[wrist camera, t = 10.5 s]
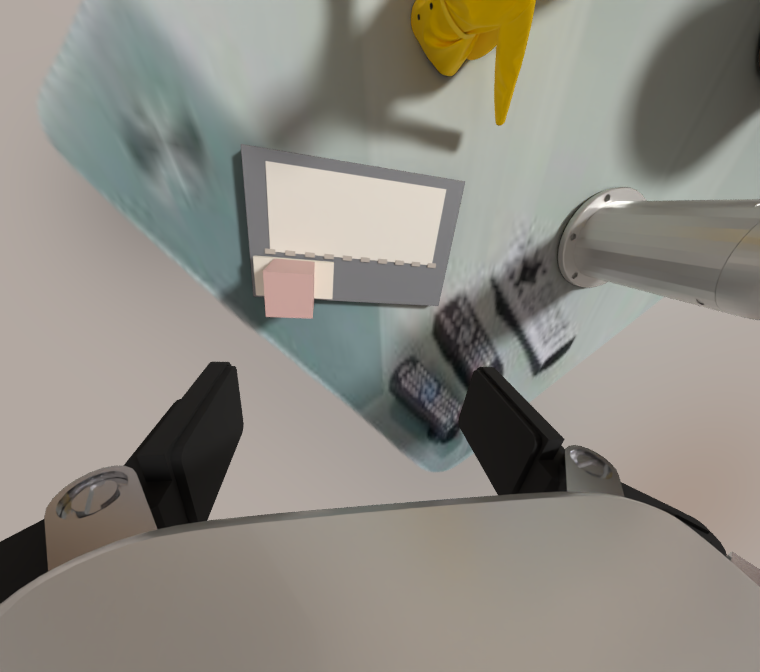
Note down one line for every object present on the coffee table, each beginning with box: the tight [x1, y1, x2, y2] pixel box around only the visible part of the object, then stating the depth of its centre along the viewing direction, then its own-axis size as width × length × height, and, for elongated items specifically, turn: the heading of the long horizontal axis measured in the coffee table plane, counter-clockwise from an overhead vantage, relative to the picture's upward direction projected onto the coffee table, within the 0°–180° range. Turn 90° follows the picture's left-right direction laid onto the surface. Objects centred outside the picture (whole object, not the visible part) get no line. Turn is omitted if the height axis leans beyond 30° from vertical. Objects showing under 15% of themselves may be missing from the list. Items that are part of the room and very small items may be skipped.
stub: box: [253, 256, 334, 318], centre depth 26 cm, size 8×4×7 cm, turn 83°
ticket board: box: [241, 144, 465, 306], centre depth 30 cm, size 22×14×2 cm, turn 83°
